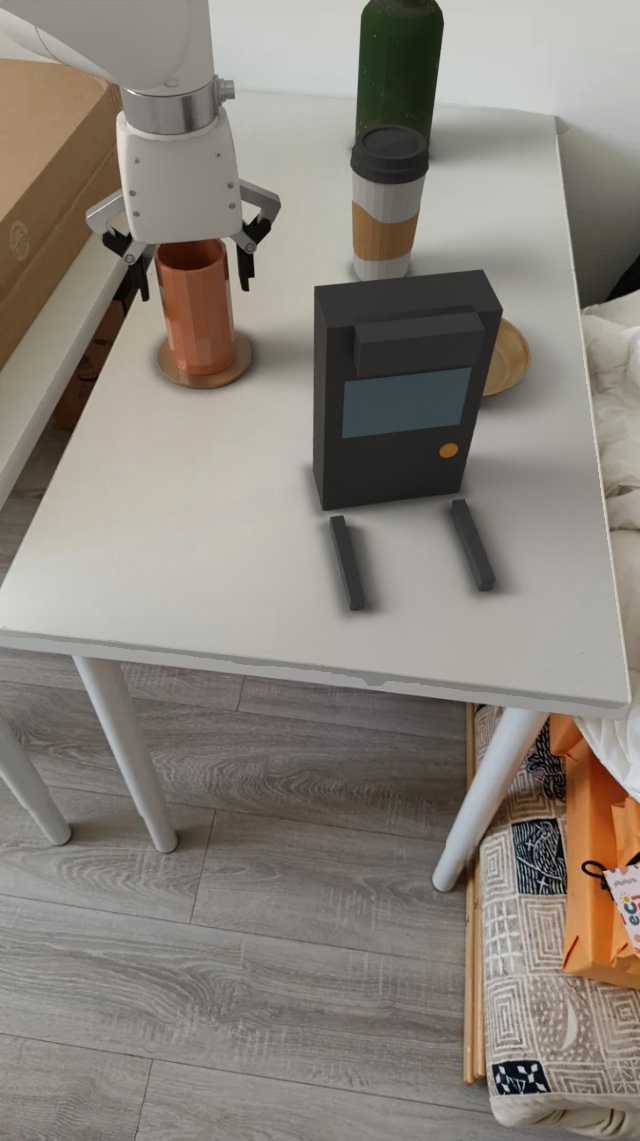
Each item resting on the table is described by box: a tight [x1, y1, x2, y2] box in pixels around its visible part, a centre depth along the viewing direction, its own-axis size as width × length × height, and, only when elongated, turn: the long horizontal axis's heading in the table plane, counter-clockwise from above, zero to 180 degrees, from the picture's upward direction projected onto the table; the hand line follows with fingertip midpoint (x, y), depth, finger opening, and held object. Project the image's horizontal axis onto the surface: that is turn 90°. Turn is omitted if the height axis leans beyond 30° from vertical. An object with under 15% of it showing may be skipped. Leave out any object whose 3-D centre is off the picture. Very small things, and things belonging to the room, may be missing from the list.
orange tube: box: [152, 238, 236, 375], centre depth 77 cm, size 7×7×12 cm
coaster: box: [156, 329, 253, 390], centre depth 82 cm, size 10×10×1 cm
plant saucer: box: [482, 317, 532, 400], centre depth 81 cm, size 15×15×3 cm
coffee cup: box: [349, 124, 430, 281], centre depth 86 cm, size 8×8×15 cm
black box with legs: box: [312, 268, 504, 611], centre depth 61 cm, size 13×16×20 cm
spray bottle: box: [354, 0, 445, 151], centre depth 98 cm, size 10×10×25 cm
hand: (195, 288), depth 76 cm, fingers open, 9 cm apart
